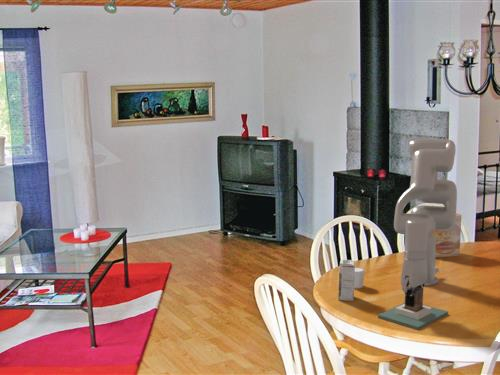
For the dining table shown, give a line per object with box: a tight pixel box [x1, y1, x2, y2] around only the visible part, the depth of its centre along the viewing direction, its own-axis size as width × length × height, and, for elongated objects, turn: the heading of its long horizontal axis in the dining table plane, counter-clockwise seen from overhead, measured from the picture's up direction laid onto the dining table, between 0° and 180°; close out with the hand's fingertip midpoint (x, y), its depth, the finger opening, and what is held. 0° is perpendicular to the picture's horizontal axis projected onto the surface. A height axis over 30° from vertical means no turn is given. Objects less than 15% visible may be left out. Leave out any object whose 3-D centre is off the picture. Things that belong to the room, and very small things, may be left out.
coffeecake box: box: [433, 212, 463, 258], centre depth 310 cm, size 15×7×20 cm, turn 104°
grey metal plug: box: [404, 287, 424, 312], centre depth 236 cm, size 4×4×8 cm
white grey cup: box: [354, 266, 366, 289], centre depth 269 cm, size 7×7×7 cm
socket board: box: [377, 302, 449, 331], centre depth 237 cm, size 20×16×3 cm
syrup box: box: [337, 259, 356, 302], centre depth 254 cm, size 6×6×14 cm
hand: (413, 303), depth 236 cm, fingers closed on grey metal plug, 4 cm apart
